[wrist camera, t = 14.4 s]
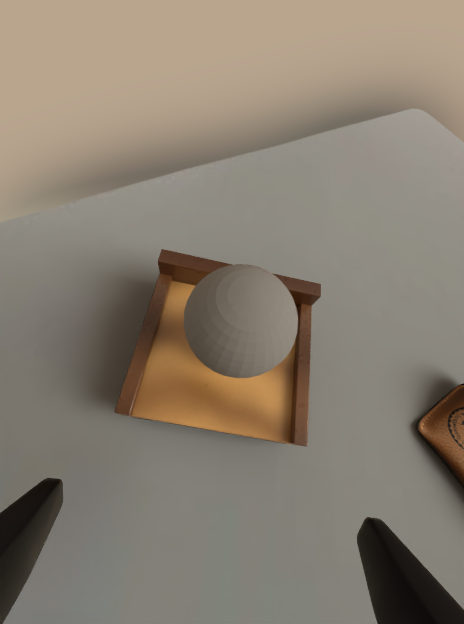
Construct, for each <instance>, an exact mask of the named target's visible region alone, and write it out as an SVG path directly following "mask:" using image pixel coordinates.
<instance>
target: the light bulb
mask: <svg viewBox="0 0 464 624" xmlns="http://www.w3.org/2000/svg"><path fill="white" fill-rule="evenodd" d="M297 329H298V315H297V309H296V305H295V303H294V300H293V297H292V295H291V294H290V292H289V290H288V289H287V287H286V286H285V285H284V284H283V283H282V282H281V280H279V279H278V278H277V277H276V276H275V275H273V274H272V273H270V272H268V271H267V270H265V269H262V268H260V267H256V266H252V265H243V264H238V265H229V266H226V267H222V268H219V269H217V270H215V271H213V272H211V273H210V274H208V275H207V276H206V277H204V278H203V279H202V280H201V281H200V282H199V283H198V284H197V285H196V286H195V288H194V289H193V290H192V292H191V294H190V296H189V298H188V300H187V302H186V306H185V310H184V330H185V336H186V338H187V341H188V343H189V346H190V348H191V350H192V351H193V353H194V354H195V356H196V357H197V358H198V359H199V360H200V361H201V362H202V363H203V364H204V365H205V366H206V367H208V368H209V369H211V370H213V371H214V372H216V373H219V374H221V375H224V376H228V377H233V378H250V377H254V376H259V375H261V374H264V373H266V372H268V371H270V370H272V369H273V368H274V367H276V366H277V365H278V364H280V363H281V362H282V361H283V360H284V359H285V357H286V356H287V355H288V354H289V352H290V350H291V348H292V346H293V345H294V342H295V338H296V335H297Z"/></svg>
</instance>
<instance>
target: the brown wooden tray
mask: <svg viewBox="0 0 464 624" xmlns="http://www.w3.org/2000/svg"><path fill="white" fill-rule="evenodd" d="M158 265H159V271H160V274H159V277H158V280H157V283H156V287H155V290H154V293H153V296H152V299H151V302H150V305H149V308H148V311H147V314H146V317H145V320H144V323H143V326H142V329H141V332H140V335H139V338H138V342H137V345H136V348H135V351H134V354H133V357H132V360H131V363H130V366H129V369H128V372H127V375H126V378H125V381H124V384H123V387H122V390H121V393H120V397H119V400H118V403H117V406H116V409H115V413H118V414H121V415H127V416H131V417H135V418H140V419H146V420H155V421H161V422H167V423H172V424H178V425H184V426H189V427H195V428H201V429H206V430H212V431H218V432H224V433H229V434H235V435H241V436H246V437H252V438H258V439H264V440H266V441H272V442H278V443H284V444H292V445H299V446H307V444H308V410H309V375H310V341H311V307H312V305H313V304H314V303H315V302H316V301H317V300H318V299H319V298H320V296H321V284H318V283H313V282H309V281H304V280H300V279H295V278H290V277H286V276H281V275H277V274H273V275H275V276H276V277H277V278H278V279H279V280H281V282H282V283H283V284H284V285H285V286H286V287H287V289H288V290H289V292H290V294H291V295H292V297H293V300H294V303H295V305H296V309H297V315H298V329H297V335H296V338H295V342H294V345H293V346H292V348H291V350H290V352H289V354H288V355H287V356H286V357H285V359H284V360H283V361H282V362H281V363H280V364H278V365H277V366H276V367H274V368H273V369H272V370H270V371H268V372H266V373H264V374H261V375H259V376H254V377H250V378H233V377H228V376H224V375H221V374H219V373H216V372H214V371H213V370H211V369H209V368H208V367H206V366H205V365H204V364H203V363H202V362H201V361H200V360H199V359H198V358H197V357H196V356H195V354H194V353H193V351H192V350H191V348H190V346H189V343H188V341H187V338H186V336H185V330H184V310H185V306H186V302H187V300H188V298H189V296H190V294H191V292H192V290H193V289H194V288H195V286H196V285H197V284H198V283H199V282H200V281H201V280H202V279H203V278H204V277H206V276H207V275H208V274H210V273H211V272H213V271H215V270H217V269H219V268H222V267H226V266H229V265H231V264H227V263H222V262H218V261H213V260H209V259H204V258H200V257H195V256H191V255H186V254H182V253H177V252H173V251H168V250H163V249H162V250H161V253H160V256H159V259H158Z"/></svg>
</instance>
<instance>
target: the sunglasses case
mask: <svg viewBox="0 0 464 624" xmlns="http://www.w3.org/2000/svg"><path fill="white" fill-rule="evenodd" d="M417 428H418V431H419V433H420V434H421V436H422V437H423V438H424V439H425V440H426V441H427V443H428V444H429V445H430V446H431V447H432V448H433V449H434V451H435V452H436V453H437V454H438V455H439V456H440V457H441V459H442V460H443V461H444V462H445V463H446V465H447V466H448V467H449V468H450V470H451V471H452V472H453V473H454V475H455V476H456V477H457V479H458V480H459V482H460V483H461V484H462V486H463V487H464V383H463V384H461V385H458V386H457V387H455V388H454V389H453V390H452V391H450V392H449V393H448V394H447V395H446V396H444V397H443V398H442V399H441V400H440V401H439V402H438V403H437V404H436V405H434V406H433V407H432V408H431V409H430V410H429V411H428V412H427V413H426V414H425V415H424V416H423V417H422V418H421V419H420V421H419V422H418V427H417Z"/></svg>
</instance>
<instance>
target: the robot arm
mask: <svg viewBox="0 0 464 624" xmlns="http://www.w3.org/2000/svg"><path fill="white" fill-rule="evenodd" d="M62 503H63V483H62V480H61V479H55V478H46V479H44V480H43V481H41V482H40V483H39V484H37V485H36V486H35V487H34V488H32V489H31V490H30V491H28V492H27V493H26V494H24V495H23V496H22V497H21V498H19V499H18V500H17V501H15V502H14V503H13V504H11V505H10V506H9V507H7V508H6V509H5V510H4V511H2V512H1V513H0V624H3V622H4V620H5V619H6V617H7V615H8V613H9V612H10V610H11V608H12V606H13V604H14V603H15V601H16V599H17V597H18V596H19V594H20V592H21V590H22V588H23V587H24V585H25V583H26V581H27V579H28V577H29V575H30V573H31V571H32V569H33V567H34V565H35V563H36V560H37V558H38V556H39V554H40V552H41V550H42V548H43V545H44V543H45V541H46V539H47V537H48V535H49V532H50V530H51V528H52V526H53V524H54V522H55V520H56V517H57V515H58V513H59V511H60V509H61V506H62ZM357 544H358V548H359V552H360V556H361V561H362V565H363V569H364V573H365V577H366V581H367V585H368V590H369V594H370V598H371V602H372V606H373V609H374V613H375V616H376V620H377V623H378V624H464V610H463V608H462V607H461V606H460V605H459V604H458V603H457V602H456V601H455V600H454V599H453V597H452V596H451V595H450V594H449V593H448V592H447V591H446V590H445V589H444V588H443V587H442V585H441V584H440V583H439V582H438V581H437V580H436V579H435V578H434V577H433V576H432V574H431V573H430V572H429V571H428V570H427V569H426V568H425V567H424V566H423V565H422V564H421V562H420V561H419V560H418V559H417V558H416V557H415V556H414V555H413V554H412V553H411V551H410V550H409V549H408V548H407V547H406V546H405V545H404V544H403V543H402V542H401V541H400V539H399V538H398V537H397V536H396V535H395V534H394V533H393V532H392V531H391V530H390V528H389V527H388V526H387V525H386V524H385V523H384V522H383V521H382V520H380V519H378V518H370V517H367V518H366V519H365V520H364V522H363V524H362V526H361V528H360V530H359V532H358V535H357Z"/></svg>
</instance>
